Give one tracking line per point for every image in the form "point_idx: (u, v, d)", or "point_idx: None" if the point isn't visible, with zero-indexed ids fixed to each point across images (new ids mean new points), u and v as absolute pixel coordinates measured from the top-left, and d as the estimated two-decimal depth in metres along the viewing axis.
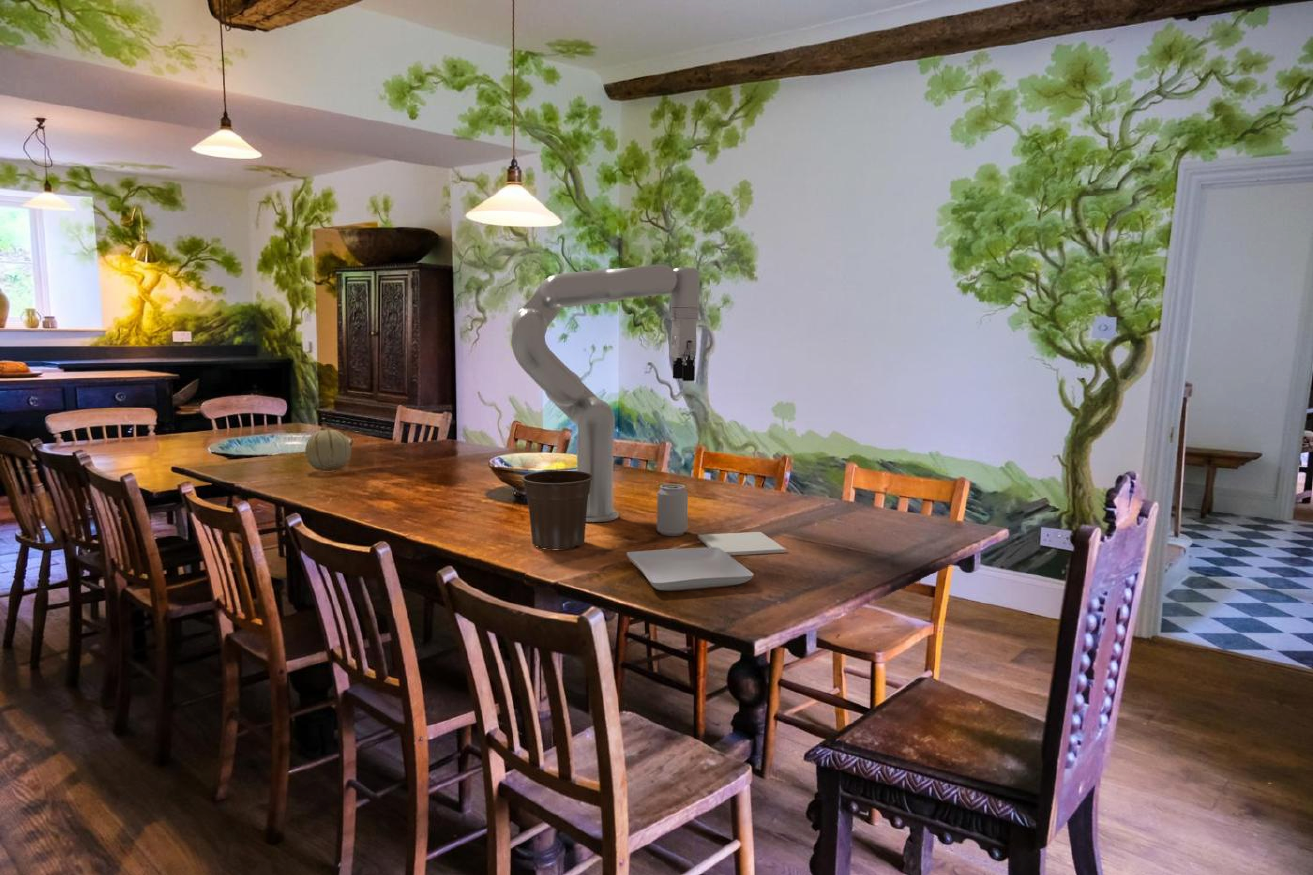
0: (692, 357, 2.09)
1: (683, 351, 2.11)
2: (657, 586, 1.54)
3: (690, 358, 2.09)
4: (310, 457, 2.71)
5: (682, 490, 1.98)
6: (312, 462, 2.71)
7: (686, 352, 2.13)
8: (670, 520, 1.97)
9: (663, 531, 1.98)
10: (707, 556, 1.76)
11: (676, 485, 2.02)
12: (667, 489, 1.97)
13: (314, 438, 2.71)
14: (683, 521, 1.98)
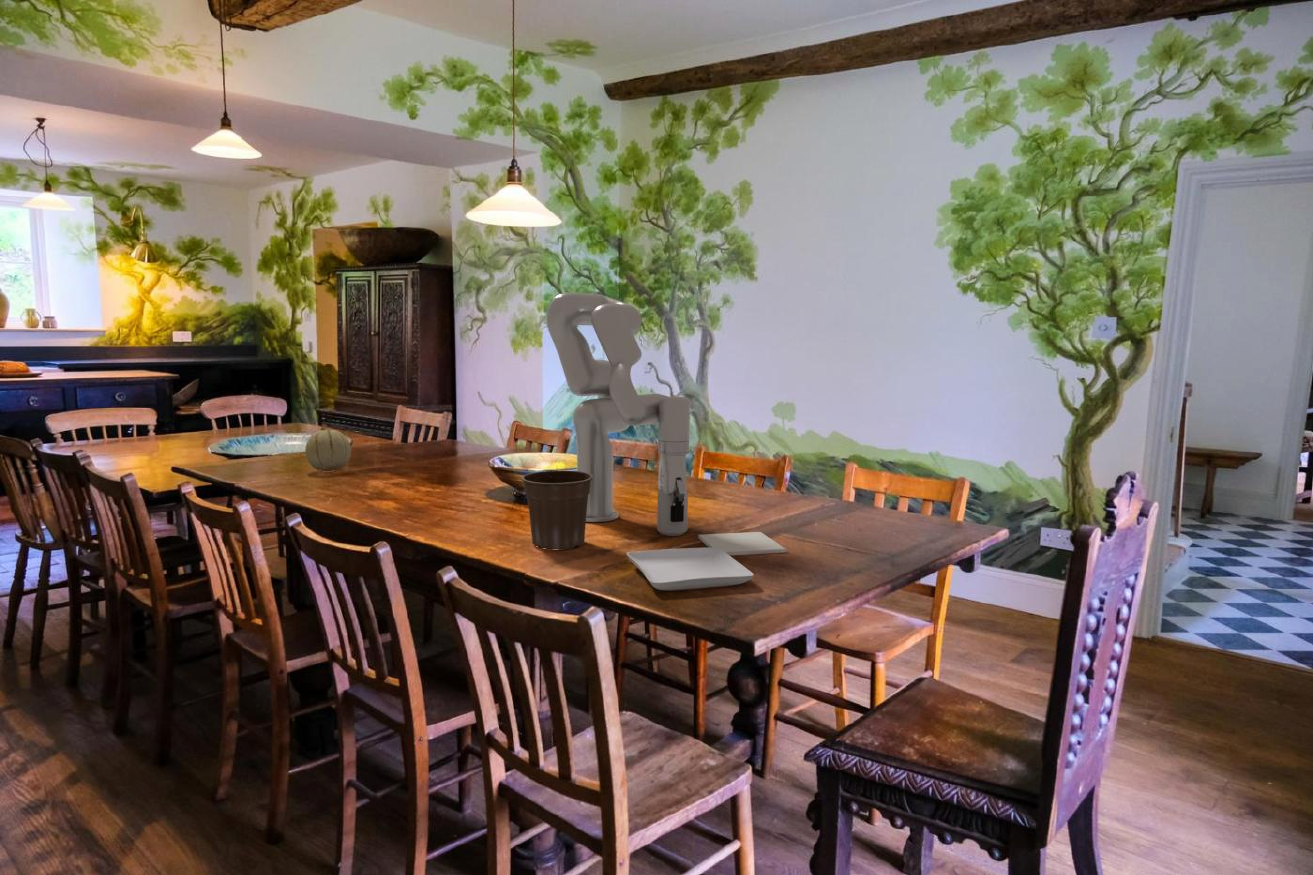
0: (681, 498, 1.93)
1: (672, 491, 1.95)
2: (657, 586, 1.54)
3: (678, 500, 1.93)
4: (310, 457, 2.71)
5: None
6: (312, 462, 2.71)
7: (675, 489, 1.97)
8: None
9: (663, 531, 1.98)
10: (707, 556, 1.76)
11: None
12: None
13: (314, 438, 2.71)
14: (683, 521, 1.98)
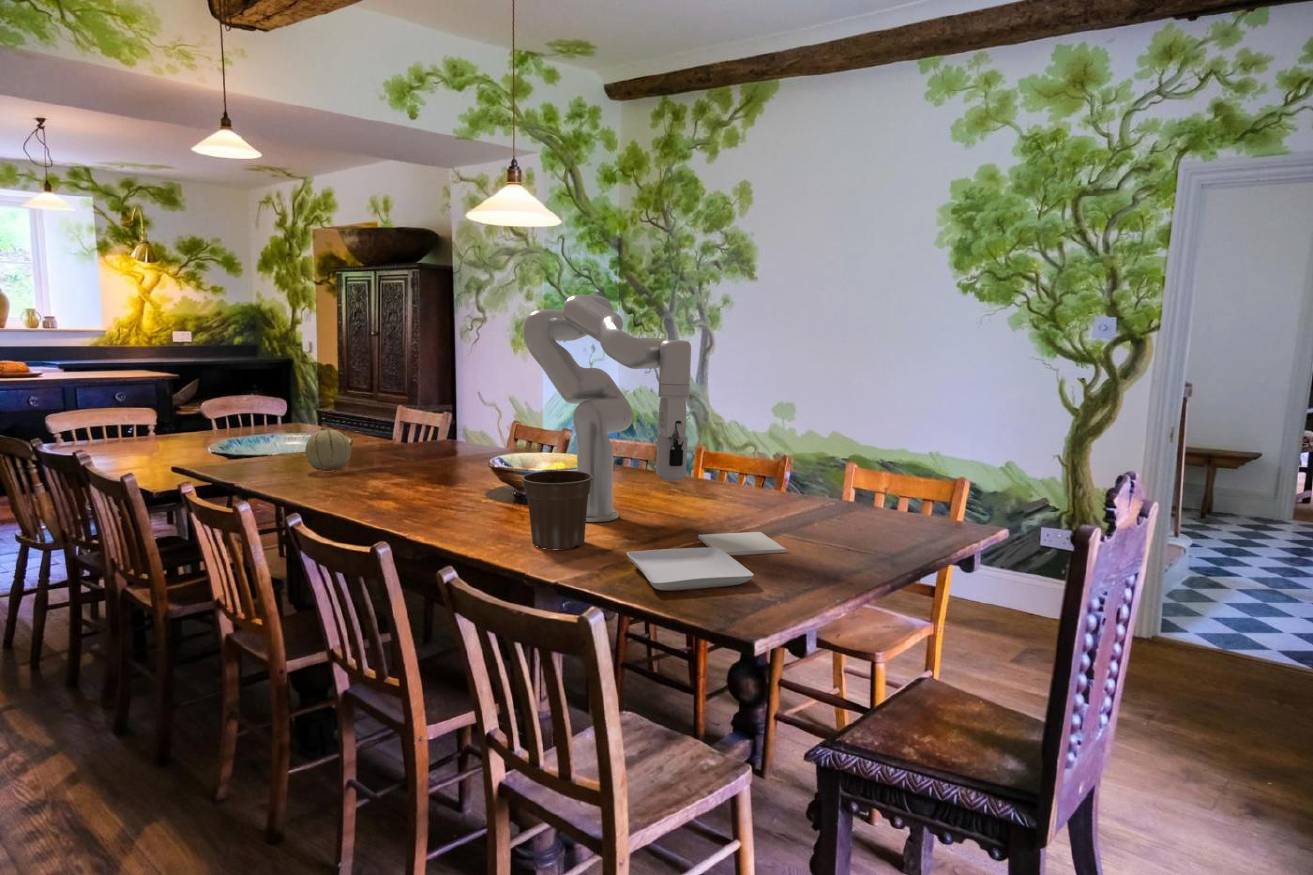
0: (680, 442, 1.91)
1: (671, 434, 1.93)
2: (657, 586, 1.54)
3: (678, 443, 1.92)
4: (310, 457, 2.71)
5: None
6: (312, 462, 2.71)
7: (674, 433, 1.95)
8: None
9: (662, 475, 1.96)
10: (707, 556, 1.76)
11: None
12: None
13: (314, 438, 2.71)
14: (682, 466, 1.97)
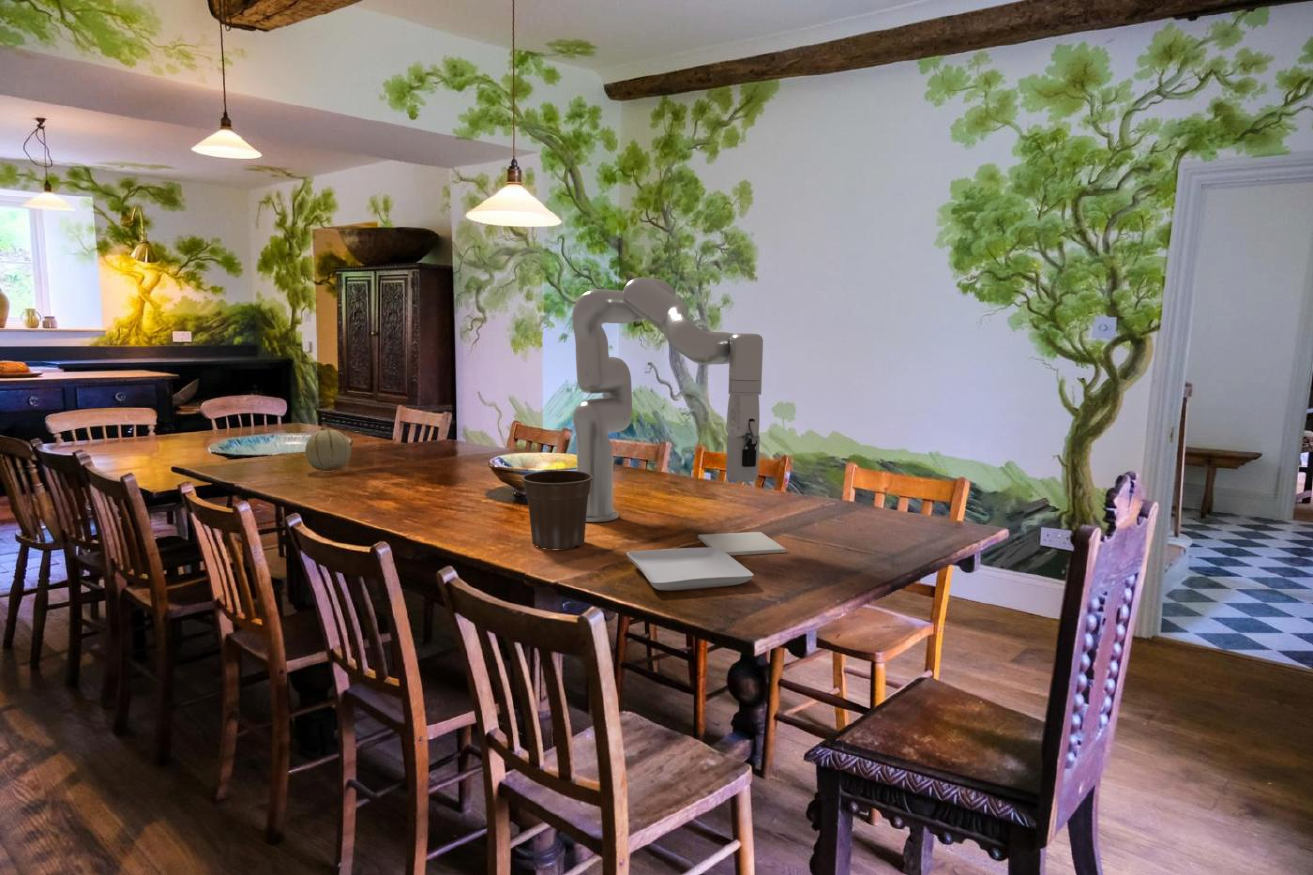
0: (754, 441, 1.81)
1: (744, 433, 1.82)
2: (657, 586, 1.54)
3: (752, 442, 1.81)
4: (310, 457, 2.71)
5: None
6: (312, 462, 2.71)
7: (747, 432, 1.84)
8: None
9: (734, 477, 1.86)
10: (707, 556, 1.76)
11: None
12: None
13: (314, 438, 2.71)
14: (755, 466, 1.86)
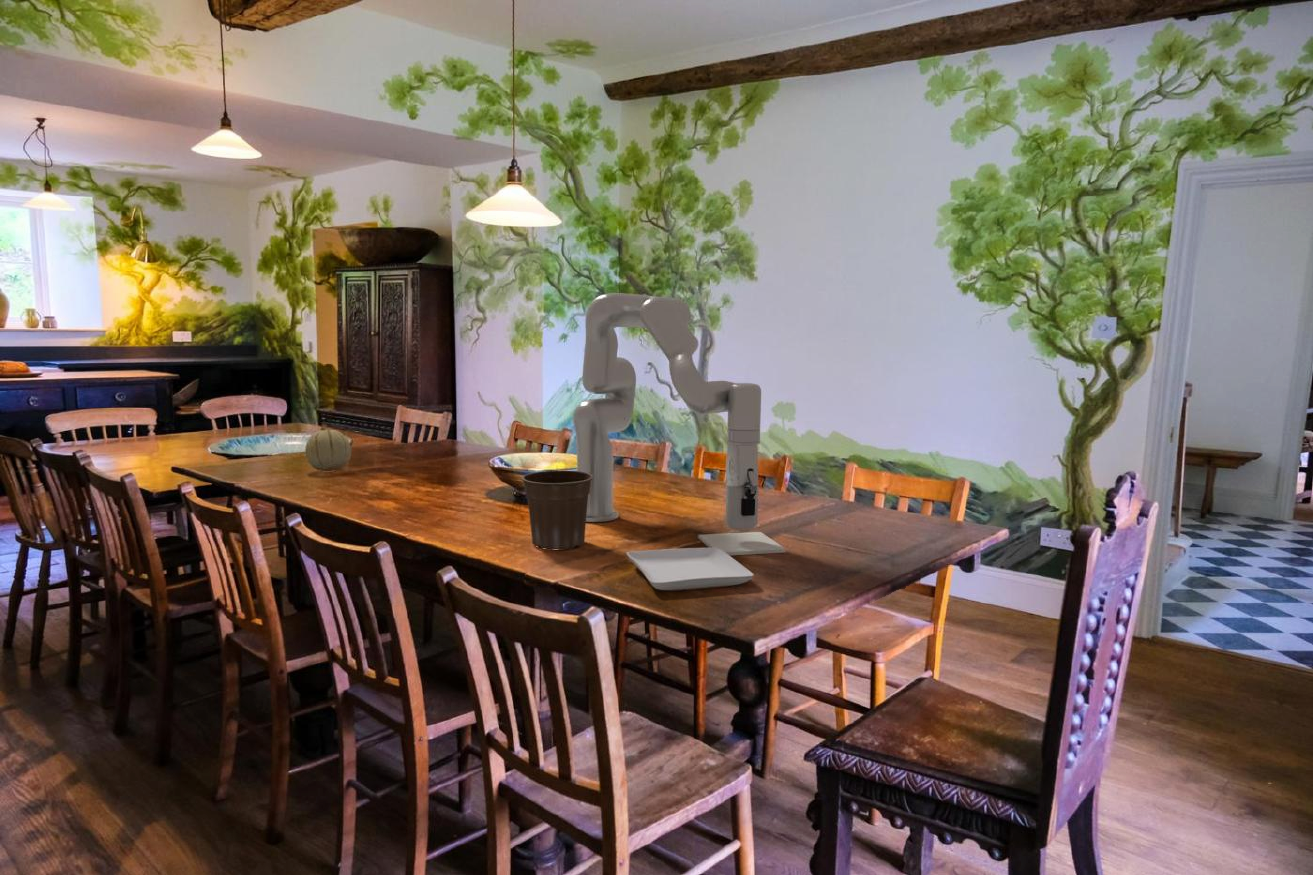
0: (753, 491, 1.82)
1: (743, 483, 1.84)
2: (657, 586, 1.54)
3: (751, 492, 1.82)
4: (310, 457, 2.71)
5: None
6: (312, 462, 2.71)
7: (746, 481, 1.86)
8: None
9: (733, 525, 1.87)
10: (707, 556, 1.76)
11: None
12: None
13: (314, 438, 2.71)
14: None
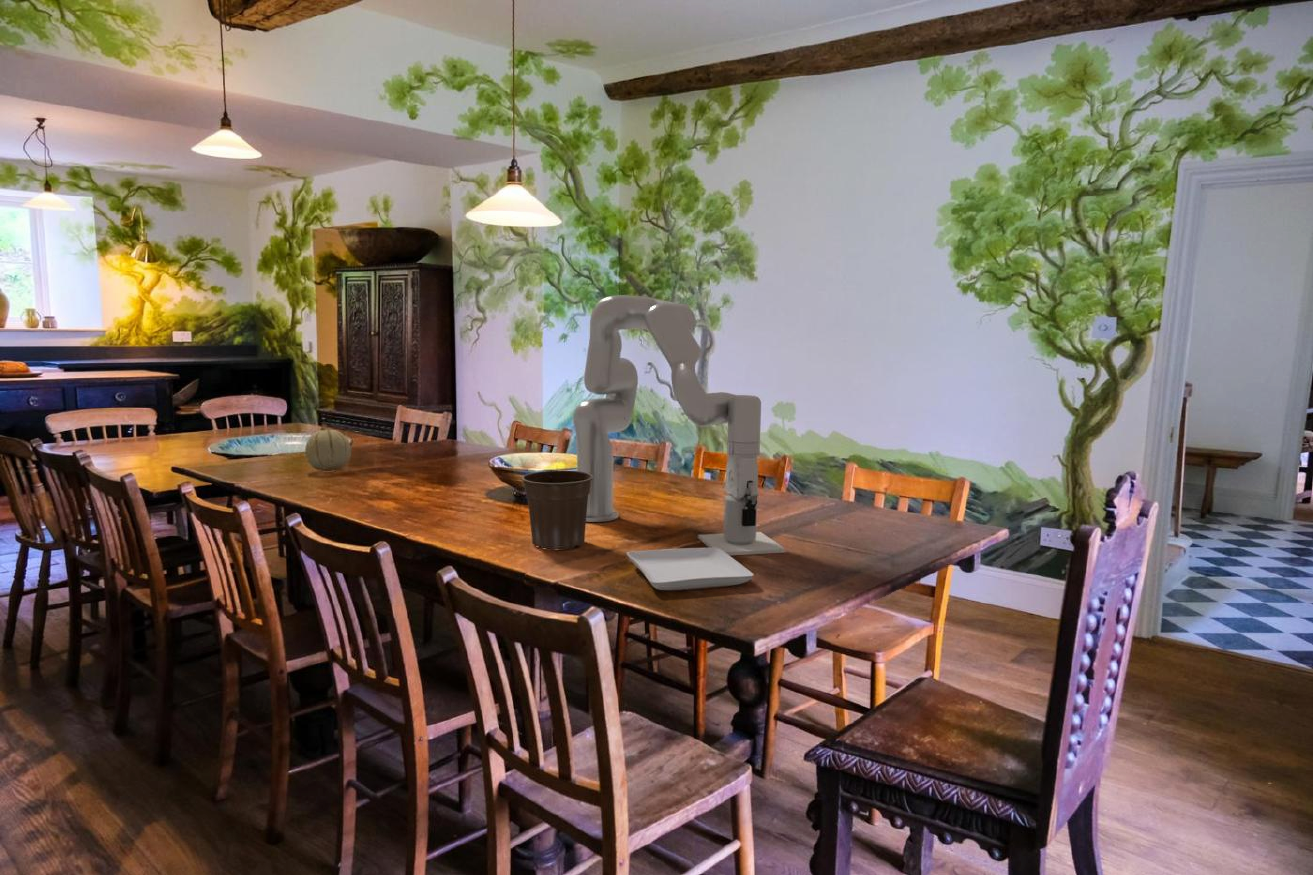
0: (754, 501, 1.82)
1: (743, 493, 1.84)
2: (657, 586, 1.54)
3: (752, 502, 1.82)
4: (310, 457, 2.71)
5: None
6: (312, 462, 2.71)
7: (746, 492, 1.86)
8: (739, 528, 1.87)
9: (731, 539, 1.88)
10: (707, 556, 1.76)
11: None
12: None
13: (314, 438, 2.71)
14: (752, 529, 1.88)
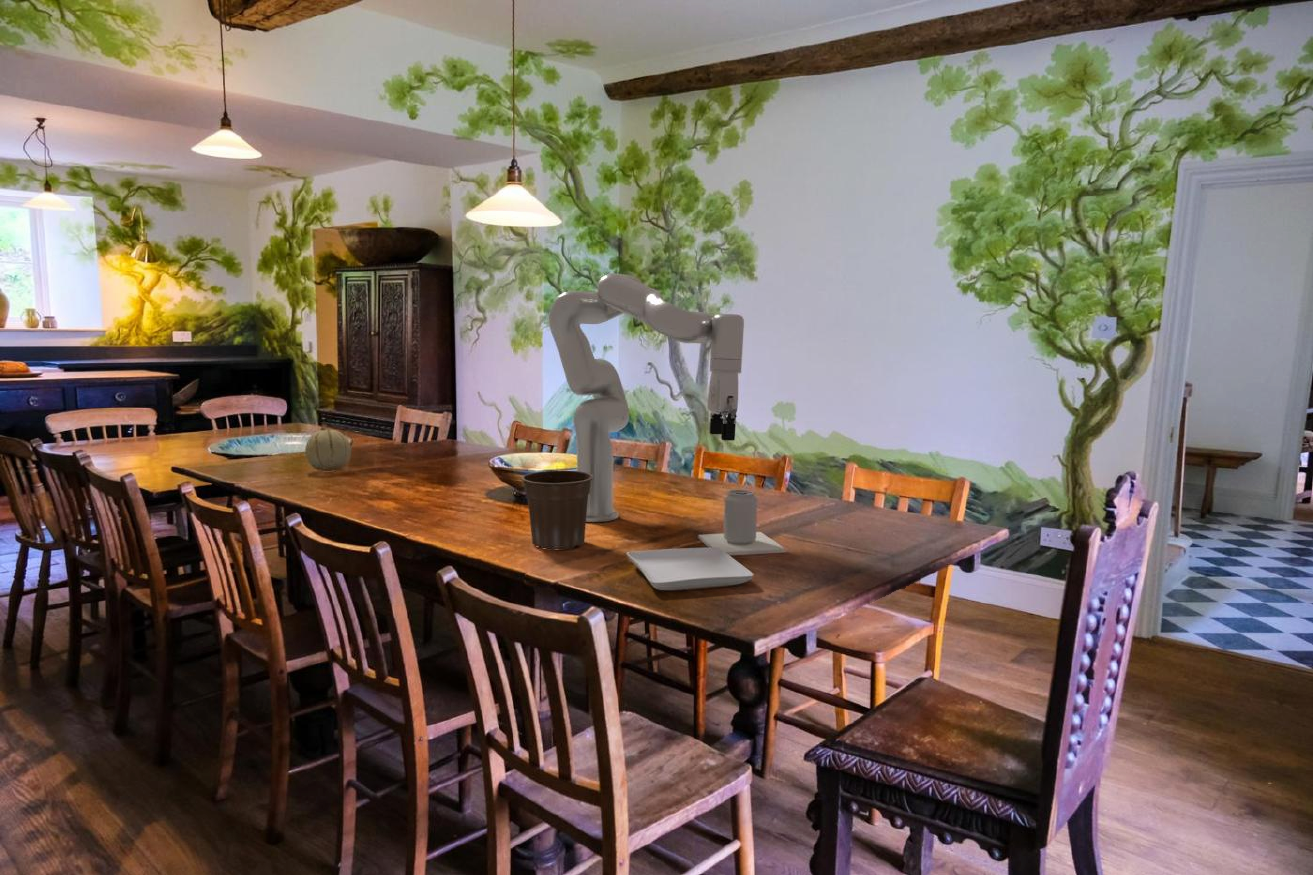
0: (733, 415, 1.87)
1: (723, 407, 1.90)
2: (657, 586, 1.54)
3: (731, 416, 1.88)
4: (310, 457, 2.71)
5: (752, 496, 1.87)
6: (312, 462, 2.71)
7: (726, 408, 1.92)
8: (739, 528, 1.87)
9: (731, 539, 1.88)
10: (707, 556, 1.76)
11: (744, 491, 1.92)
12: (736, 495, 1.87)
13: (314, 438, 2.71)
14: (752, 529, 1.88)
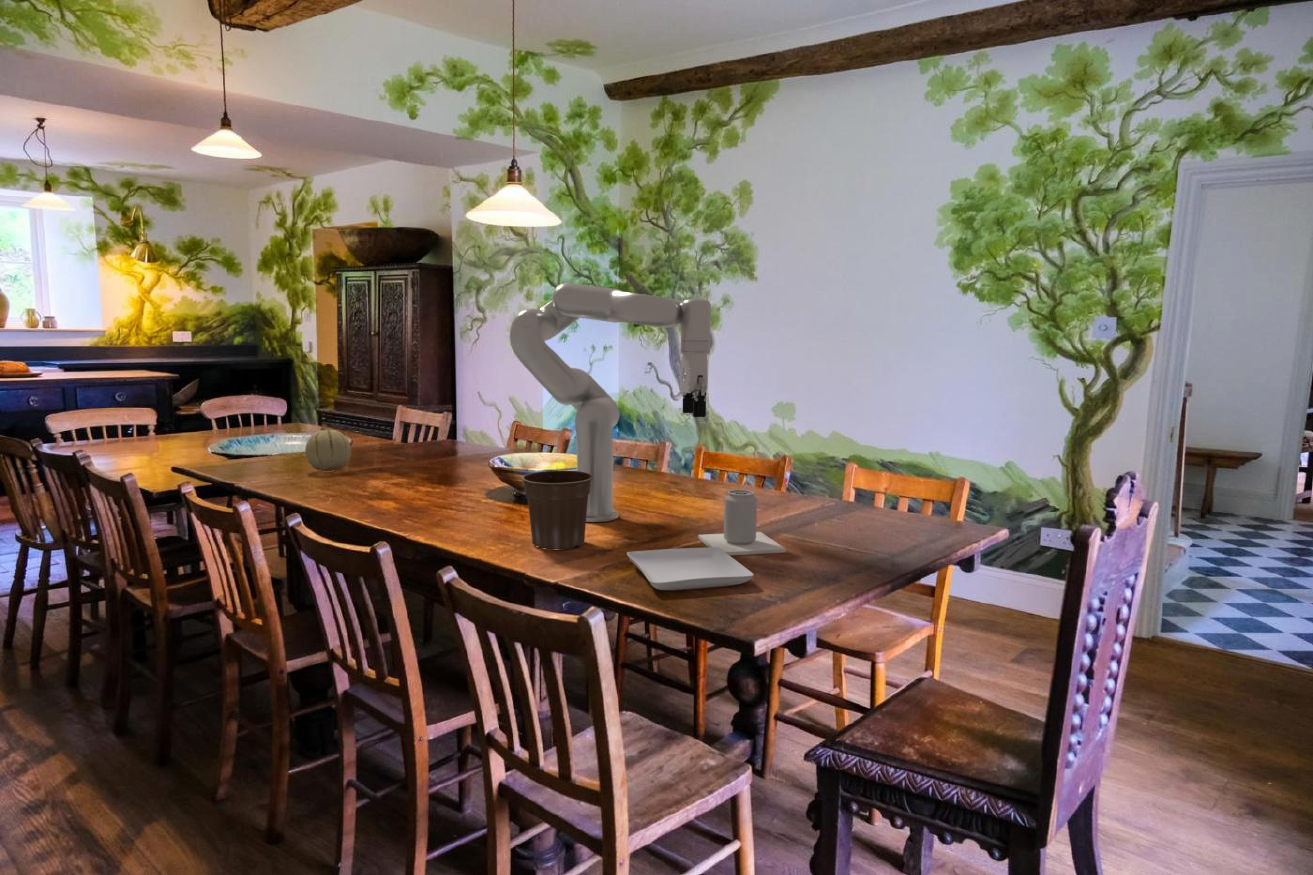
0: (703, 393, 2.01)
1: (694, 386, 2.03)
2: (657, 586, 1.54)
3: (701, 394, 2.01)
4: (310, 457, 2.71)
5: (752, 496, 1.87)
6: (312, 462, 2.71)
7: (697, 387, 2.05)
8: (739, 528, 1.87)
9: (731, 539, 1.88)
10: (707, 556, 1.76)
11: (744, 491, 1.92)
12: (736, 495, 1.87)
13: (314, 438, 2.71)
14: (752, 529, 1.88)
